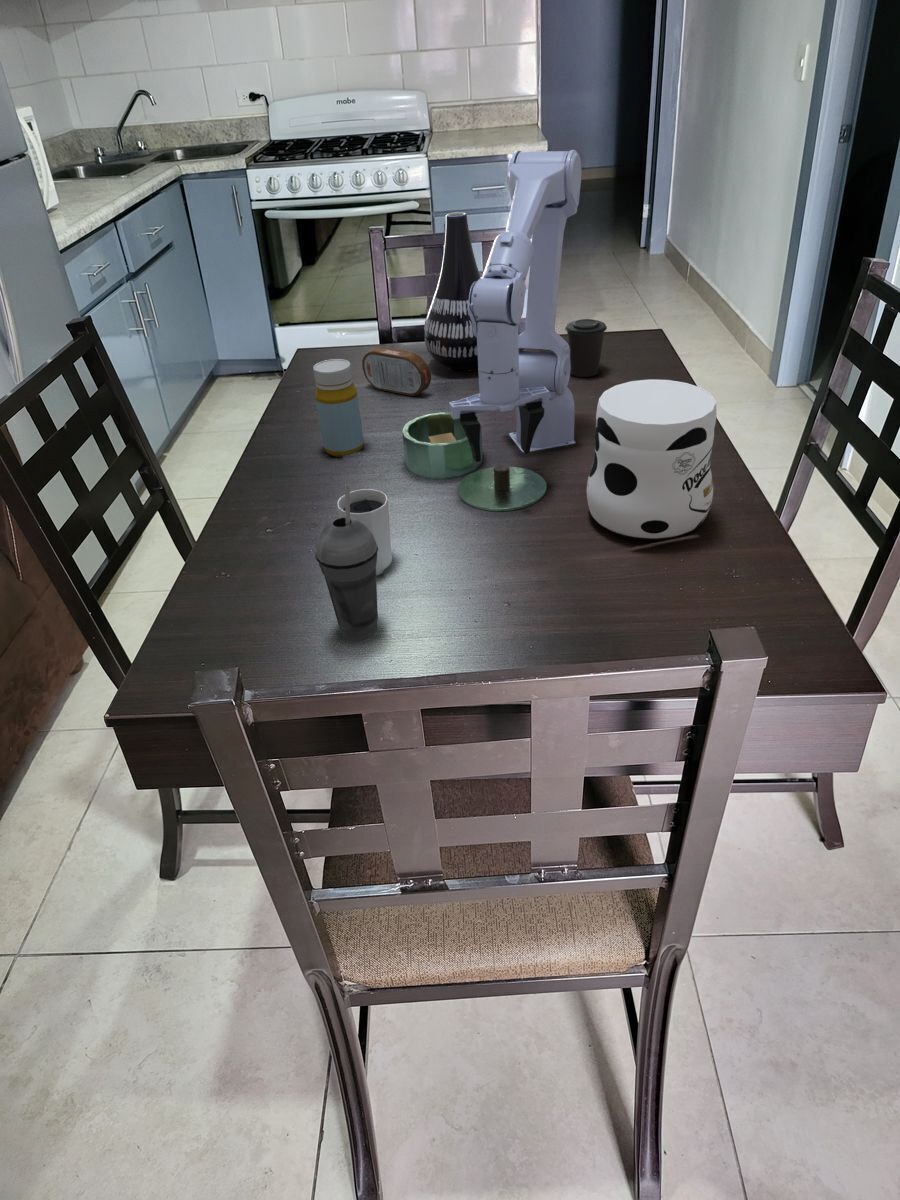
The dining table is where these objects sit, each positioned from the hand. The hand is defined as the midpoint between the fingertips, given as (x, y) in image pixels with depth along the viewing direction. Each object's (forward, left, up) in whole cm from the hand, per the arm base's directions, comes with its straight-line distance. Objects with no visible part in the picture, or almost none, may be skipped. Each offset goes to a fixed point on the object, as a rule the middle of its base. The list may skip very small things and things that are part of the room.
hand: (501, 454), depth 125 cm
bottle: (+21, -25, -7) cm, 33 cm away
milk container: (-17, +15, -7) cm, 24 cm away
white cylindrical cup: (+23, +13, -7) cm, 27 cm away
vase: (-9, -55, -7) cm, 56 cm away
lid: (0, 0, -6) cm, 6 cm away
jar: (+6, -13, -6) cm, 16 cm away
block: (+6, -13, -6) cm, 16 cm away
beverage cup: (+27, +27, -7) cm, 39 cm away
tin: (+7, -47, -7) cm, 48 cm away
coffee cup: (-30, -41, -6) cm, 52 cm away
